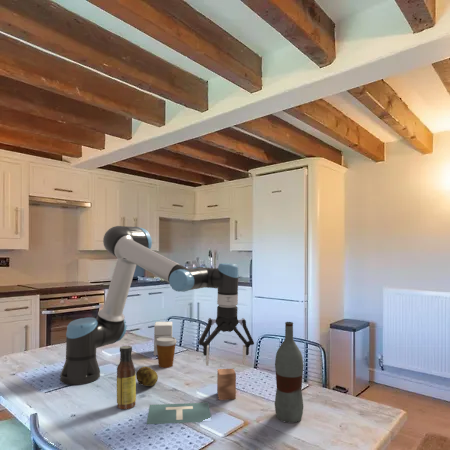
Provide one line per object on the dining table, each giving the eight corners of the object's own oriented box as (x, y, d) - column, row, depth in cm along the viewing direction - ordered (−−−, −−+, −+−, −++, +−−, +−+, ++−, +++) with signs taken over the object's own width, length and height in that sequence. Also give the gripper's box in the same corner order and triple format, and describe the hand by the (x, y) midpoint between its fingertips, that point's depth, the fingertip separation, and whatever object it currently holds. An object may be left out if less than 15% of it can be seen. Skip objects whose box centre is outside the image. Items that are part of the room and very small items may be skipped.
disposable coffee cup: (174, 369, 165) (175, 341, 166) (153, 369, 165) (153, 341, 166) (177, 362, 175) (178, 336, 175) (157, 362, 175) (157, 336, 176)
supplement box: (154, 350, 194) (155, 321, 194) (172, 350, 195) (172, 321, 195) (153, 356, 185) (153, 325, 185) (171, 355, 186) (172, 325, 186)
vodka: (308, 421, 117) (308, 324, 119) (282, 425, 115) (282, 326, 116) (295, 409, 126) (295, 319, 128) (269, 412, 124) (270, 320, 125)
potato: (166, 382, 150) (166, 361, 150) (146, 393, 138) (147, 371, 139) (149, 378, 153) (149, 358, 154) (128, 389, 142) (129, 368, 142)
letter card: (146, 424, 114) (146, 424, 114) (149, 405, 128) (149, 404, 128) (211, 421, 116) (211, 421, 117) (208, 403, 130) (208, 402, 130)
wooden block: (218, 400, 133) (219, 374, 133) (217, 393, 139) (217, 369, 139) (235, 399, 134) (235, 374, 134) (233, 393, 139) (233, 368, 140)
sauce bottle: (139, 404, 129) (140, 345, 130) (128, 411, 123) (130, 350, 124) (122, 401, 131) (124, 343, 132) (112, 408, 125) (113, 348, 126)
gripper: (193, 307, 133) (191, 368, 132) (262, 307, 136) (261, 367, 135) (193, 303, 140) (191, 361, 139) (258, 304, 143) (257, 360, 142)
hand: (225, 364), depth 137 cm, fingers open, 13 cm apart
